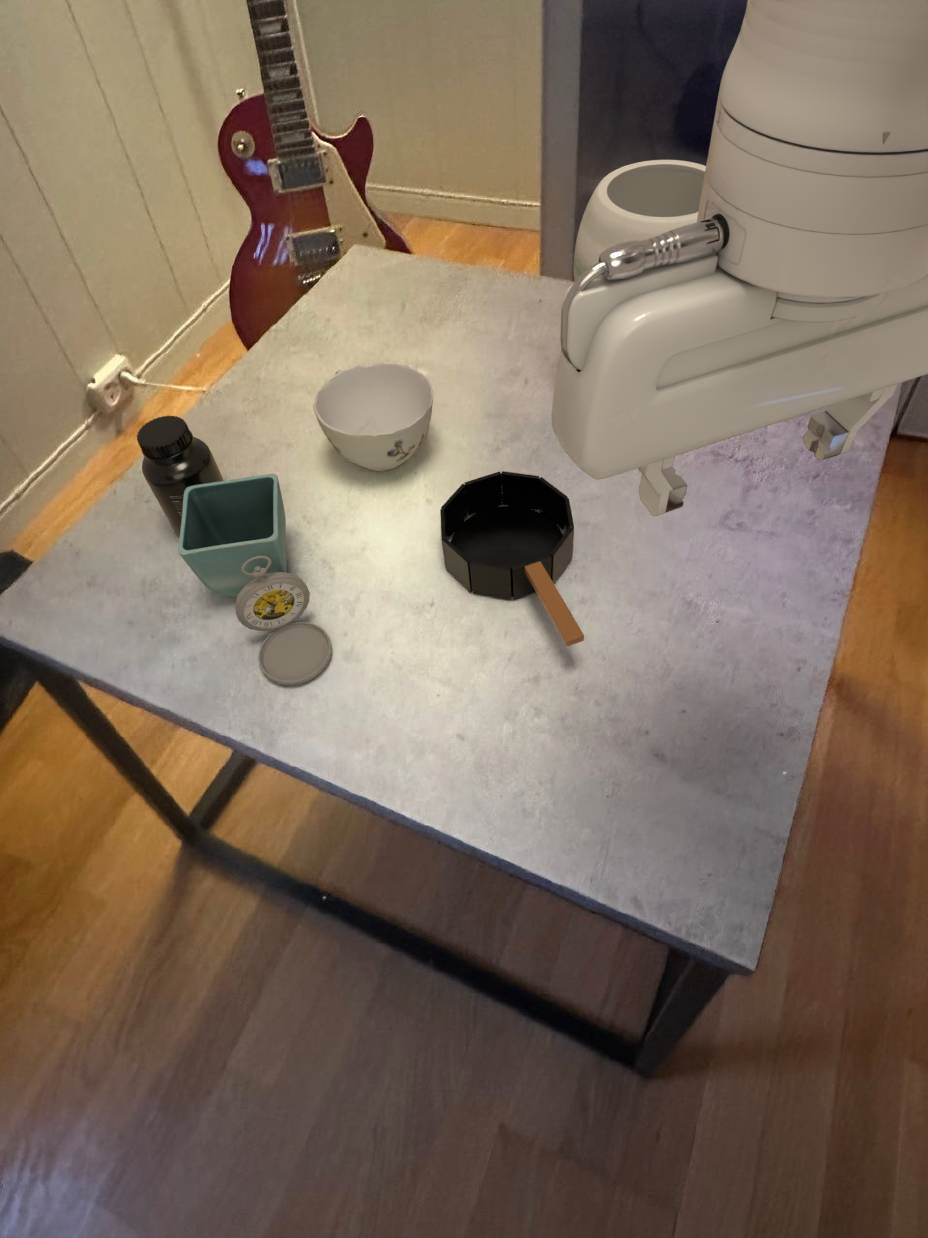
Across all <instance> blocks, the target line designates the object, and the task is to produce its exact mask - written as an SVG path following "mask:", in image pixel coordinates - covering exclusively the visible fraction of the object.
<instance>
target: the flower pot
mask: <svg viewBox="0 0 928 1238" xmlns="http://www.w3.org/2000/svg"><path fill="white" fill-rule="evenodd" d="M285 511H286V510H285V506H284V501H283V496H282V491H281V486H280V481H279V478H278V475H277V474H276V473H265V474H259V475H254V476H247V477H240V478H233V479H226V480H224V481H220V482H213V483H207V484H199V485H194V486H190V487H187V488H186V489H185V491H184V498H183V511H182V522H181V530H180V536H179V539H178V545H177V547H178V548H177V551H178V555H180V557H181V559H182V560H183V561H184V562H185V563H186V565H187V566H188V567H189V569H190V570H191V571H192V572H193V574H194V575H195V576H196V577H197V579H198V580H199V581H200V583H202V584H203V585H204V586H205V587H206V588H208V589H210V590H211V591H213V592H215V593H217V594H220V595H223V596H228V597H230V598H231V597H232V598H235V597H236V598H237V596H238V594H239V593H240V591H241V590H242V589H243V588H244V587H245V586H246V585H247V584H248V583H249V582H251V581H252V580H254V579H256V577H253V576H247V575H244V574H243V573H242V571H241V568H242V566H243V564H244V563H245V562H246V561H247V560H249V559H251V558H253V557H256V556H267V557H269V558H270V559H271V565H270V567H269V568H268V569H267V571H266V574H269V573H274V572H286V573H287V521H286V519H287V518H286V512H285ZM267 565H268V561H267V560H266V559H263V558H259V559H254V560H252V561H250V562H249V563H248V564H247V565H246V566H245V569H244V570H245V571H246V572H247V573H253V572H254V571H255V567H257V566H260V568H266V566H267Z"/></svg>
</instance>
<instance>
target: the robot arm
mask: <svg viewBox="0 0 928 1238" xmlns="http://www.w3.org/2000/svg"><path fill="white" fill-rule="evenodd" d="M744 12H745V13H744V16H743V19H742V23H741V25H740V26H741V27H740V30H739V33H738V36H737V39H736V41H735V43H734V46H733V48H732V50H731V53H730V54H729V57H728V59H727V62H726V64H725V66H724V69H723V71H722V76H721V79H720V83H719V84H720V85H719V91H718V95H717V101H716V106H715V113H714V119H713V124H712V129H711V134H710V135H711V136H710V142H709V147H708V154H707V159H706V164H705V166H706V169H705V175H704V181H703V187H702V193H701V199H700V204H699V210H698V216H697V222H696V223H693V224H690V225H686V226H683V227H679V228H676V229H673V230H670V231H668V232H666V233H663V234H661V235H658V236H656V237H653V238H650V239H648V240H643V241H637V240H634V241H628V242H623V243H620V244H617V245H615V246H612V247H610V248H608V249H606V250H605V251H603V252H602V253H601V254H600V256H599V262H598V263H596V264H595V265H593V266H592V267H590V268H589V269H587V270H586V271H585V272H584V273H583V274H582V275H581V276H580V277H579V278H578V279H577V280H576V281H574V282H573V284H572V285H570V286H568V288H567V289H566V290H565V293H564V294H563V299H562V302H561V305H560V306H561V309H560V328H559V329H560V330H559V331H560V332H559V341H560V348H561V349H560V354H559V357H558V358H559V359H558V364H557V369H556V374H555V382H554V387H553V388H554V389H553V396H552V406H551V408H552V409H551V427H552V430H553V432H554V435H555V437H556V439H557V441H558V442H559V444H560V445H561V447H562V449H563V450H564V452H565V453H566V454H567V456H568V457H569V458H570V459H571V461H572V462H573V463H574V465H576V466H577V467H578V468H579V469H580V470H581V471H583V472H584V473H586V474H587V475H588V476H590V477H591V478H593V479H594V480H604V479H605V480H606V479H608V478H613V477H615V476H617V475H621V474H624V473H627V472H629V471H634V470H636V469H637V470H638V471H639V472H640V474H641V475H640V483H639V489H638V497H639V499H640V502H641V503H642V505H643V506H644V507H645V508H646V510H647V511H648V512H649V514H650V515H651V516H652V517H654V518H656V517H659V516H662V515H664V514H666V513H670V512H672V511H674V510H675V511H676V510H678V509H681V508H682V507H684V503H685V502H684V500H683V499H684V497H685V496H686V494H687V490H688V484H687V483H686V481H685V480H684V479H683V477H682V476H680V475H677V474H676V472H677V471H676V469H675V468H674V466H673V465H674V462H675V458H676V456H679V455H683V454H684V453H685V454H686V453H688V452H692V451H694V450H698V449H701V448H704V447H708V446H711V445H713V444H716V443H720V442H722V441H725V440H729V439H731V438H735V437H737V436H741V435H744V434H747V433H750V432H753V431H757V430H760V429H763V428H766V427H769V426H772V425H775V424H777V423H778V424H779V423H781V422H784V421H787V420H791V419H794V418H797V417H799V416H803V415H806V414H809V413H813V412H816V411H818V410H821V409H824V408H825V410H824V411H821V412H818V413H815V414H812V415H810V418H809V421H808V424H807V428H808V429H807V430H806V431H805V432H804V435H803V438H802V439H803V445H804V447H805V448H806V449H807V451H808V452H812V453H813V455H814V458H816V459H817V460H818V461H824V460H827V459H831V458H834V457H836V456H839V455H842V454H845V453H848V452H849V451H850V449H851V446H852V444H853V442H854V441H855V438H856V436H857V433H858V431H859V429H860V428H862V427H863V426H864V425H865V424H867V422H868V421H869V420H870V419H871V418H872V417H873V416H874V415H875V414H876V413H877V412H878V411H879V410H880V409H881V408H882V407H883V406H884V405H885V404H886V403H887V402H888V401H889V400H890V399H891V398H892V397H893V396H894V394H895V392H896V389H897V388H898V385H899V384H901V383H905V382H907V381H910V380H913V379H917V378H919V377H923V376H926V375H928V0H747V2H746V7H745V11H744ZM600 275H602V277H599V278H596V277H598V276H600ZM595 278H596V279H595Z"/></svg>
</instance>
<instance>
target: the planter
mask: <svg viewBox="0 0 928 1238" xmlns="http://www.w3.org/2000/svg"><path fill="white" fill-rule="evenodd" d="M705 169H706V165H704V164H701V163H697V162H692V161H687V160H680V159H651V160H643V161H639V162H634V163H630V164H627V165H623V166H621V167H618V168H617V169H615V170H613V171H611V172H609V173H608V174H607V175H605V176H604V177H603V178H602V179H601V180H600V181H599V183H598V184H597V186H596V187H595V189H594V191H593V193H592V194H591V197H590V199H589V200H588V202H587V205H586V207H585V210H584V212H583V215H582V218H581V221H580V224H579V227H578V228H579V229H578V231H577V236H576V242H575V246H574V255H573V280H574V282H575V281H576V280H577V279H578V278H579V277H580V276H581V275H582V274H583V273H584V272H585V271H586V270H587V269H589V268H590V267H592V266H593V265H595V264H596V263H598V262H599V256H600V254H601V253H602V252H603V251H605V250H606V249H608V248H610V247H612V246H615V245H617V244H620V243H623V242H628V241H634V240H637V241H643V240H648V239H650V238H653V237H656V236H658V235H661V234H663V233H666V232H668V231H670V230H673V229H676V228H679V227H683V226H686V225H690V224H693V223H696V222H697V216H698V210H699V204H700V199H701V193H702V187H703V181H704V175H705ZM599 277H602V275H600V276H598V277H596V278H599ZM596 278H595V279H596Z"/></svg>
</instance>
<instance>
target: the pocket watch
mask: <svg viewBox="0 0 928 1238" xmlns="http://www.w3.org/2000/svg"><path fill="white" fill-rule="evenodd" d="M259 558H263V559H266V560H267V561H268V565H267V566H266V568H260V566H257V567H255V571H254V572H253V573H247V572H246V571H245V570H244V569H245V566H246V565H247V564H248V563H249V562H250V561H252V560H254V559H259ZM270 565H271V559H270V558H269V557H267V556H256V557H253V558H251V559H249V560H247V561H246V562H245V563H244V564H243V566H242V568H241V571H242V573H243V574H244V575H247V576H253V577H256V579H254V580H252V581H251V582H249V583H248V584H247V585H246V586H245V587H244V588H243V589H242V590H241V591H240V593H239V594H238V596H236V599H235V604H234V605H235V606H234V608H235V615H236V618H237V620H238V621H239V623H240V624H241V625H242V626H244V627H246V628H247V629H249V630H253V631H258V632H265V631H266V632H267V631H272V632H271V633H269V634H268V636H266V637H265V639H264V640H263V642H262V643H261V646H260V648H259V650H258V658H257V659H258V665H259V667H260V671H262V673H263V674H264V676H265V677H266V678H268V680H269V681H272V682H275V683H277V684H279V685H286V686H295V685H300V684H303V683H306V682H309V681H310V680H312V679H314V678H316V677H317V676H319V674H321V673H322V672H323V671H324V670H325V668H326V667H327V666H328V664H329V662H330V660H331V656H332V651H333V650H332V649H333V648H332V641H331V639H330V637H329V634H328V633H327V632H326V631H325V629H323V628H322V627H321V626H320V625H317V624H315V623H314V622H313V623H312V622H308V621H296V620H297V619H298V618H299V617H301V616H302V615H303V613H304V612H305V611H306V610H307V608H308V605H309V603H310V597H311V592H310V589H309V587H308V585H307V584H306V583H305V581H304V580H303V579H302V578H300V577H299V576H298V575H296V574H293V573H291V572H287V571H286V572H274V573H269V574H266V571H267V569H268V568H269V567H270ZM289 596H290V598H288V597H289ZM267 608H268V609H269V610H267ZM266 610H267V611H266ZM295 621H296V622H295Z"/></svg>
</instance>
